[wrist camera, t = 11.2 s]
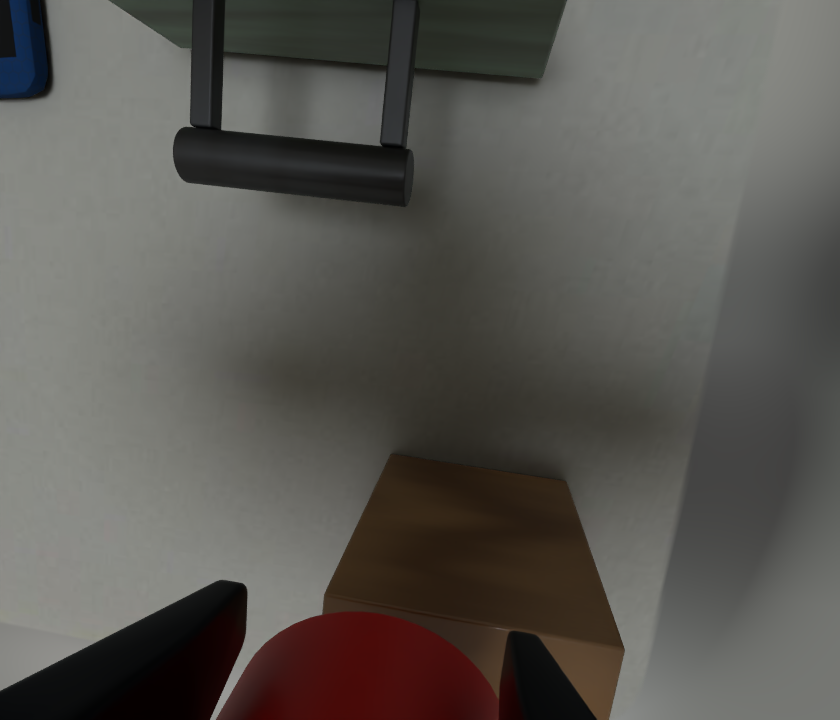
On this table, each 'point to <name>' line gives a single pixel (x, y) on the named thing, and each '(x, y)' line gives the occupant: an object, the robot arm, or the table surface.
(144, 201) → the table surface
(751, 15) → the table surface
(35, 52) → the cell phone
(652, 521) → the table surface
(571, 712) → the robot arm
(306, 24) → the drawer
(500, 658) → the block
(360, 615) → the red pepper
